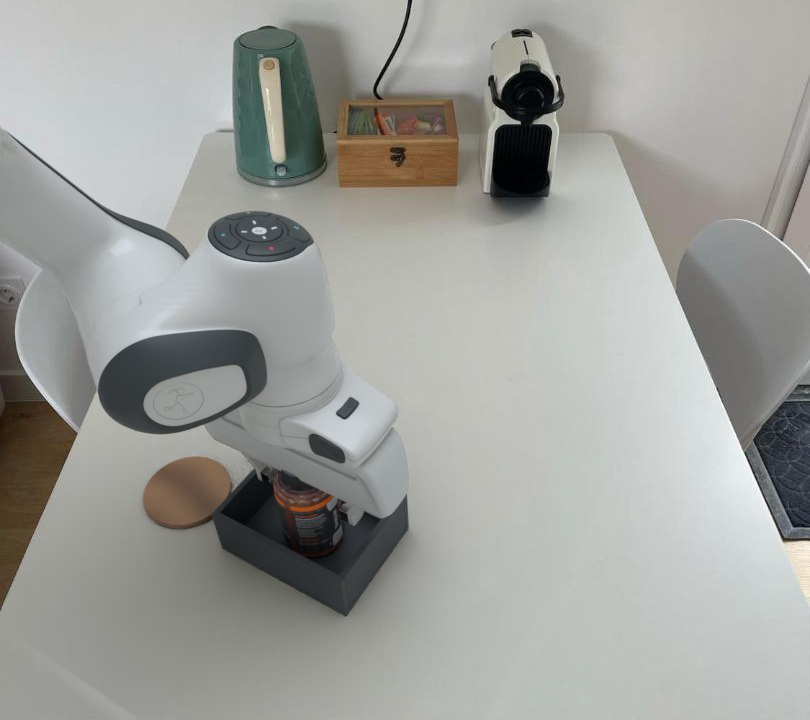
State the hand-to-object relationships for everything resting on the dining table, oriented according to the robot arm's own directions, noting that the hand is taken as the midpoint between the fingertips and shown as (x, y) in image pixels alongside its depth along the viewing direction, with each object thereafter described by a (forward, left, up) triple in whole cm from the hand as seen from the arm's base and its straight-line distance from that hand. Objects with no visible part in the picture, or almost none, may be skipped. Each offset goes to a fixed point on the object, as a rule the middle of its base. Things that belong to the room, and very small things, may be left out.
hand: (310, 497), depth 76 cm
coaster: (-2, +15, -6) cm, 17 cm away
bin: (0, 0, -6) cm, 6 cm away
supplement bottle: (0, 0, -6) cm, 6 cm away
